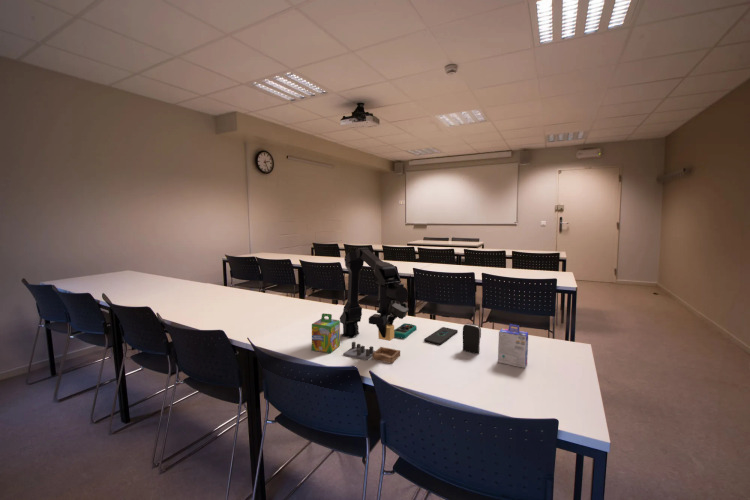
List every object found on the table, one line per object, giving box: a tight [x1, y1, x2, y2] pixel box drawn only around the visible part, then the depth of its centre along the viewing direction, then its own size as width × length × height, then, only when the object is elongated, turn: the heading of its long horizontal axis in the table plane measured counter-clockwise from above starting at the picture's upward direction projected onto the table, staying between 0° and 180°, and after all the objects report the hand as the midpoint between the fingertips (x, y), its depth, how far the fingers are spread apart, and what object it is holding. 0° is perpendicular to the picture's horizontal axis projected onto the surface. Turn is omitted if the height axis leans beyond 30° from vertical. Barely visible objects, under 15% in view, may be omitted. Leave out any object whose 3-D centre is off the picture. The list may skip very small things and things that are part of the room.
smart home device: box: [423, 326, 458, 346], centre depth 151 cm, size 8×2×20 cm
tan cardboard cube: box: [377, 324, 395, 342], centre depth 128 cm, size 5×4×5 cm
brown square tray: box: [371, 346, 401, 364], centre depth 129 cm, size 9×8×2 cm
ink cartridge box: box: [497, 323, 529, 369], centre depth 123 cm, size 10×6×14 cm, turn 58°
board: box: [342, 341, 376, 362], centre depth 132 cm, size 11×8×3 cm
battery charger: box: [462, 322, 482, 355], centre depth 134 cm, size 7×4×11 cm, turn 58°
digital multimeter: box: [394, 322, 417, 339], centre depth 156 cm, size 7×15×3 cm, turn 150°
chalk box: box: [311, 313, 341, 354], centre depth 138 cm, size 9×9×15 cm
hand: (386, 335), depth 128 cm, fingers closed on tan cardboard cube, 4 cm apart
